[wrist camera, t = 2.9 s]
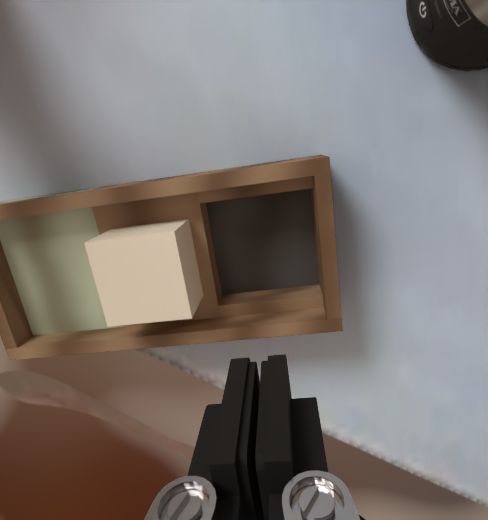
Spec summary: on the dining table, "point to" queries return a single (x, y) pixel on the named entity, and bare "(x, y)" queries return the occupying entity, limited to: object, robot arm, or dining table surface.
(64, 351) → the box
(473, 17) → the milk frother
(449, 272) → the dining table surface
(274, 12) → the dining table surface
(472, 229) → the dining table surface
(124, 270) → the cream block
